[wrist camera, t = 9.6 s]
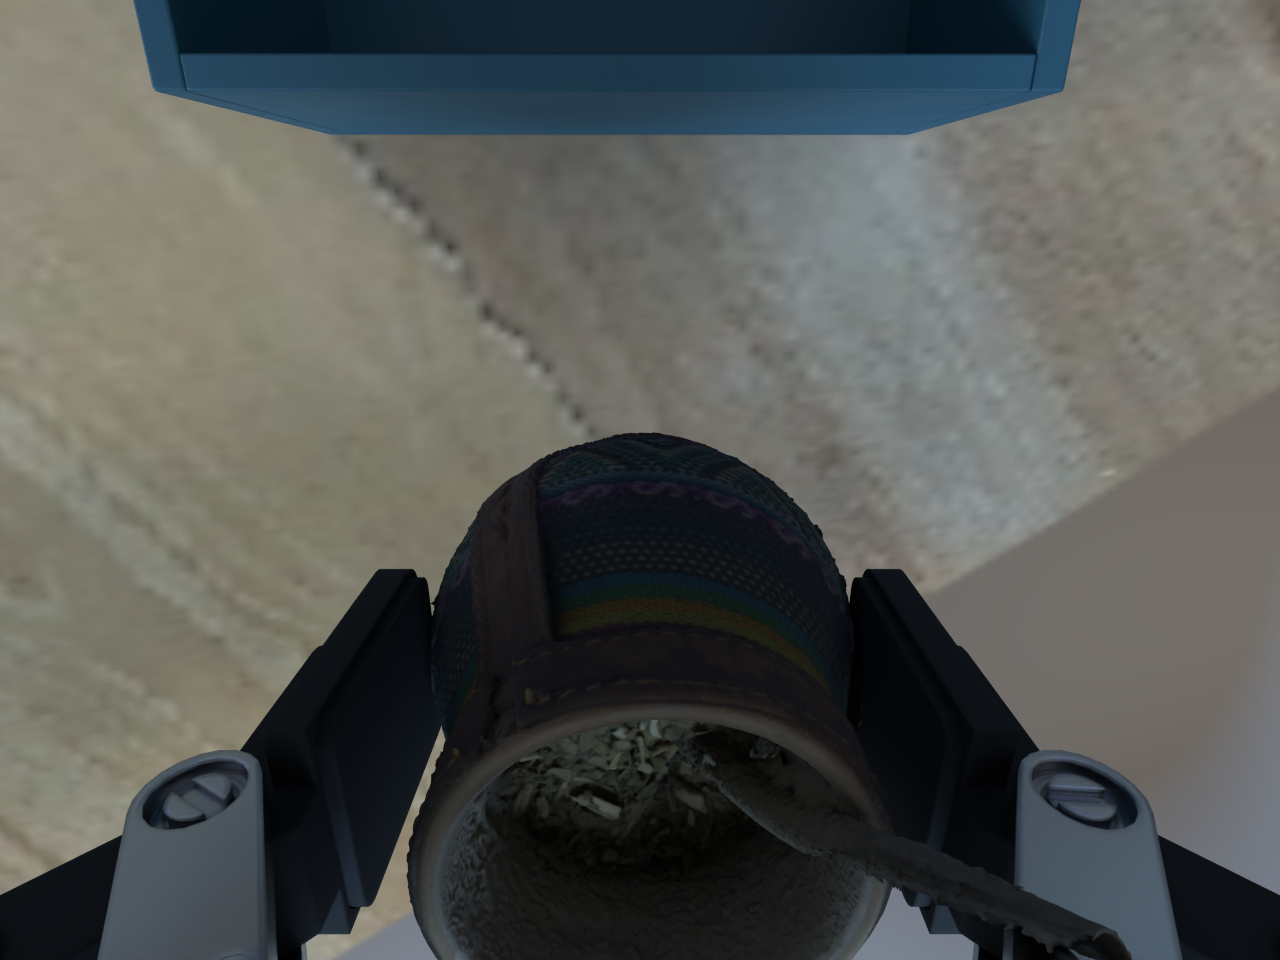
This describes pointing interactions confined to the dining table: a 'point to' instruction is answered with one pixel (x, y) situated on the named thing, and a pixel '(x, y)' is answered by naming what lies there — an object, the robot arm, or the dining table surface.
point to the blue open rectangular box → (609, 63)
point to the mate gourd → (663, 731)
